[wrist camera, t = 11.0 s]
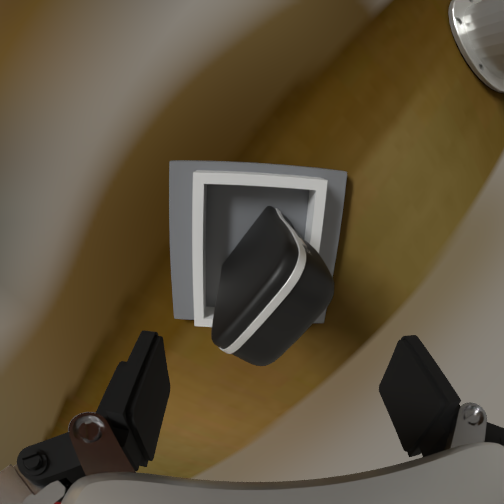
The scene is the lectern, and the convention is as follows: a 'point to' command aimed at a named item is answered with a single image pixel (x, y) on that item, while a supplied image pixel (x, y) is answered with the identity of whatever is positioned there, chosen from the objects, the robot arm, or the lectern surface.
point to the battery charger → (269, 291)
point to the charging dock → (241, 220)
